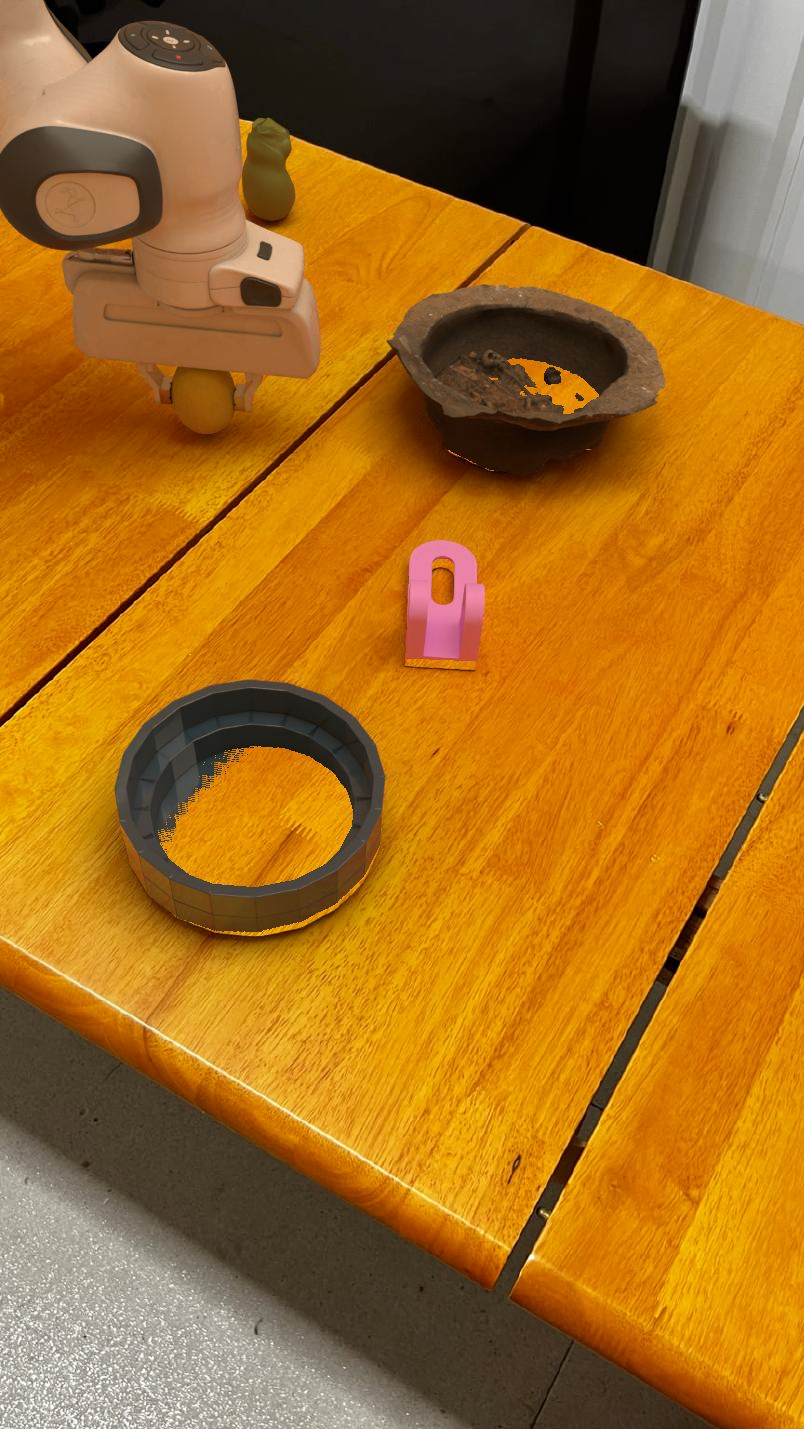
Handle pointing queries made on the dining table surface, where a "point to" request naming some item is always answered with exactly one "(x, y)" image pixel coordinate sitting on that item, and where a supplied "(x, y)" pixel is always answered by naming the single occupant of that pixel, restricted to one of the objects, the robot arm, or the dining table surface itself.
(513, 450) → the stone bowl
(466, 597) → the bracket
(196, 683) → the dining table surface
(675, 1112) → the dining table surface
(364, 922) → the dining table surface
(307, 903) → the dark grey round ring
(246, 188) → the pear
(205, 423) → the lemon
